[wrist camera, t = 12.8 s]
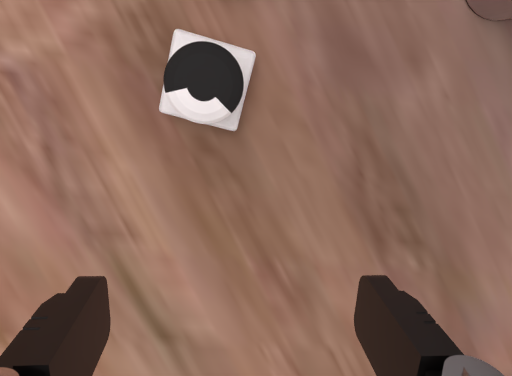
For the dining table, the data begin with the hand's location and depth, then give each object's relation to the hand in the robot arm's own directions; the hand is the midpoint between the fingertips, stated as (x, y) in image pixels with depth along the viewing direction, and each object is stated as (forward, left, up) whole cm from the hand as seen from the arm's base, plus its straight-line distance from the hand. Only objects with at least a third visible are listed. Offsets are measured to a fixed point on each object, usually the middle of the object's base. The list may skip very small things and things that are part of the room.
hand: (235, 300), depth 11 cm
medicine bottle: (+2, -6, -30) cm, 31 cm away
